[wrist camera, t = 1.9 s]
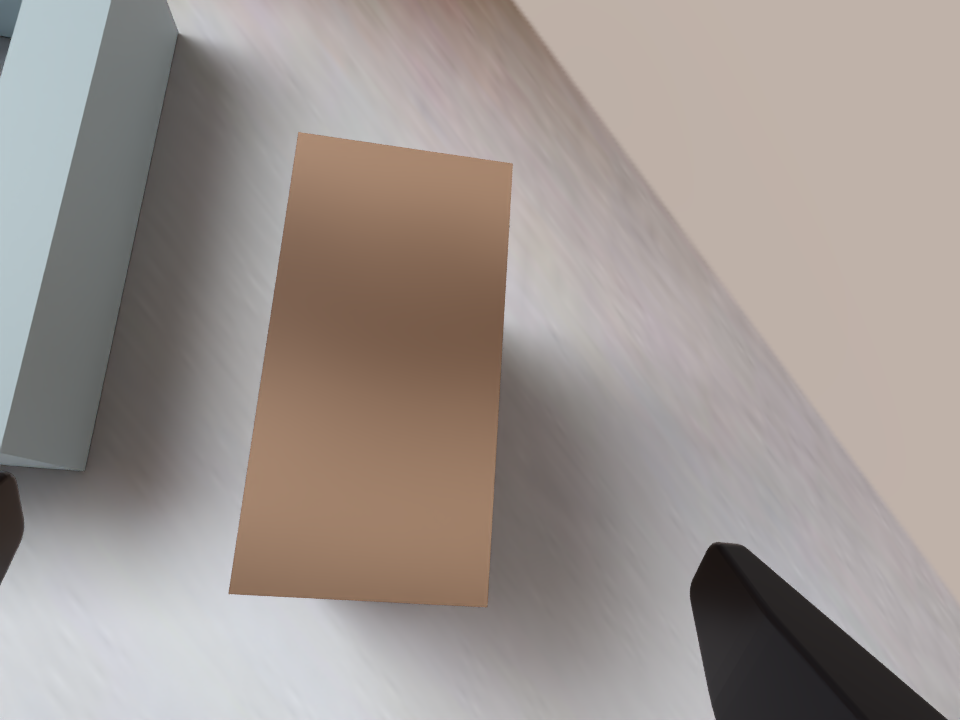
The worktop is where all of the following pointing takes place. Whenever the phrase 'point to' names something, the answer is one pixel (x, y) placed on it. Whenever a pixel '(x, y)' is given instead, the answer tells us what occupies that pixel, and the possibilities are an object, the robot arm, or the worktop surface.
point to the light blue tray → (70, 206)
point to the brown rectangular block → (380, 380)
